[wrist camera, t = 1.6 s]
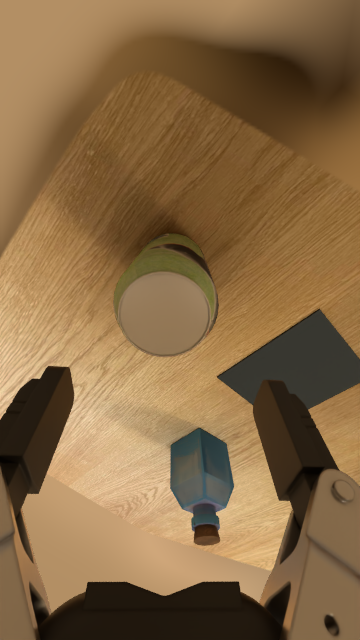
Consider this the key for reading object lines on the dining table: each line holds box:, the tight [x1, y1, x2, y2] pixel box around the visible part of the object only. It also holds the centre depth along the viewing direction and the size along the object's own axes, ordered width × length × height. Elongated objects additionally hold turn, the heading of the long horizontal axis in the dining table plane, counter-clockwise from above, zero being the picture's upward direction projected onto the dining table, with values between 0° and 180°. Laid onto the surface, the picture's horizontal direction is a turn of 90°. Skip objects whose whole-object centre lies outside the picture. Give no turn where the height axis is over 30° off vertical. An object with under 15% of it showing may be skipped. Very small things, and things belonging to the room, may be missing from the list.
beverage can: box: [113, 233, 219, 357], centre depth 19 cm, size 6×7×12 cm
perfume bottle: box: [170, 428, 234, 546], centre depth 36 cm, size 6×6×12 cm
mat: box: [217, 309, 360, 409], centre depth 33 cm, size 14×14×1 cm
